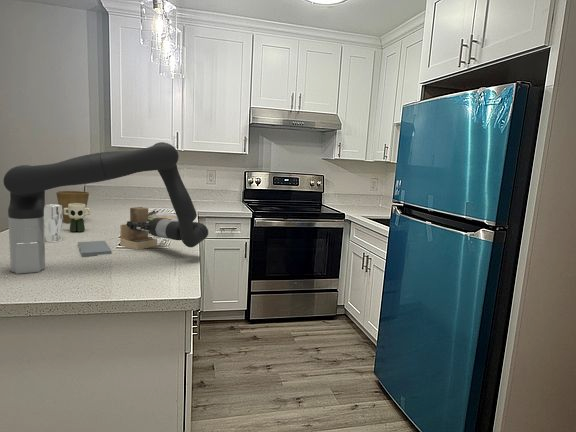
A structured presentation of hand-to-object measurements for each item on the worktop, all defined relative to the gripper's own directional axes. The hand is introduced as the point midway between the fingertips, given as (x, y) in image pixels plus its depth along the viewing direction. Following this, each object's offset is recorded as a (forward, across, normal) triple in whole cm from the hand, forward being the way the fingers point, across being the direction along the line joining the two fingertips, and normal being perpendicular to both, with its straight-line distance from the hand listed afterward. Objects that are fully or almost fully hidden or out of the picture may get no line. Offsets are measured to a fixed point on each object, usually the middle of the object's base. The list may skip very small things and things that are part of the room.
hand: (136, 222), depth 157 cm
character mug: (+40, 0, +10) cm, 41 cm away
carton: (-3, 0, +10) cm, 11 cm away
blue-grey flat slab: (+5, +16, +10) cm, 19 cm away
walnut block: (-2, 0, +10) cm, 10 cm away
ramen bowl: (+17, -29, +10) cm, 35 cm away
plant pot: (+62, -11, +10) cm, 64 cm away
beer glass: (+30, +17, +10) cm, 36 cm away
